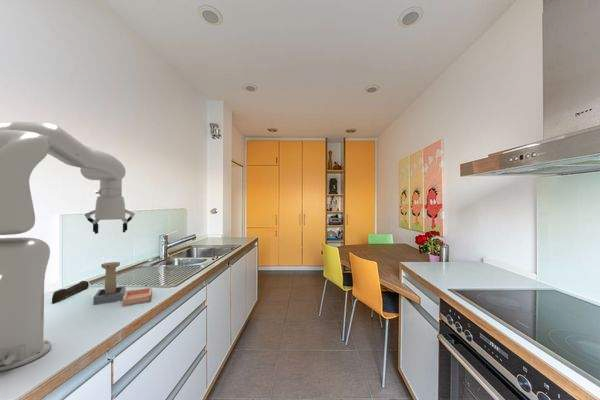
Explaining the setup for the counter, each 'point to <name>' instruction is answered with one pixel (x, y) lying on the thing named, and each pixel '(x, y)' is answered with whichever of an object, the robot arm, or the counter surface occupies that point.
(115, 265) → the handle
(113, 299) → the collar
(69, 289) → the hand tool
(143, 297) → the tray
